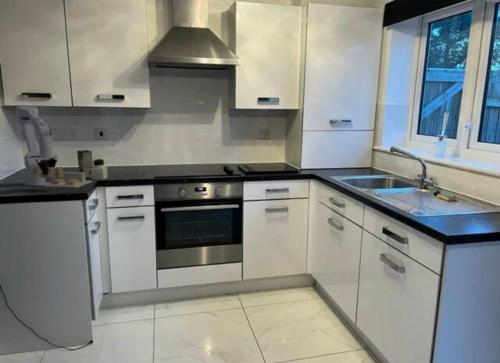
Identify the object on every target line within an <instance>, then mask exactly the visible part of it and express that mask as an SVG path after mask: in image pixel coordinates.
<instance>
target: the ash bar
mask: <svg viewBox="0 0 500 363" xmlns="http://www.w3.org/2000/svg"><path fill="white" fill-rule="evenodd" d="M33 172H34V178H45V179H60V178H61V177H64V175H63V172H64V168H63V167H61V166H60V167H58V166H57V167H56V166H55V167H48V175H43V173H42V170H41V168H40V167H36V168H33Z"/></svg>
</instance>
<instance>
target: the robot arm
mask: <svg viewBox="0 0 500 363" xmlns="http://www.w3.org/2000/svg"><path fill="white" fill-rule="evenodd" d="M15 116H16V118H17V119H16V120H17V122H18V123H20V124H21V126H22V129H23V132H24V137H25V141H26V147H27V151H28V152H27V153H26V154H25V155H24V166H25V169H26V170H25V172H24V178H25V184H24V186H34V187H35V186H37V187H39V186H43V185H45V184H48V183H50V182H49V181H46V178H34V172H33V168H36V167H40V168H41V170H42V173H43V175H48V167H56V164H57V162H58V158H59V157H58V156H59V155H58V154H53V148H52V147H53V146H52V138H51V137H52V134H53V133H52V132H53V131H52V127H51V125H50V124H46V122H45V121H44V120H43V118H42V117H39V109H38V107H37V106H36V105H34V106H33V105H28V106H27V105H26V106H25V105H24V106H23V105H21V106H20V105H17V106H16V107H15ZM37 140H38V144H37ZM38 147H39V148H38Z"/></svg>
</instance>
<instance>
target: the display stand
mask: <svg viewBox="0 0 500 363" xmlns="http://www.w3.org/2000/svg"><path fill="white" fill-rule="evenodd" d="M63 175H64V177H61V178H54V179H52V180H51V181H50V182H49V183H47V184H44V185H42V187H43V188H61V189H62V188H63V189H65V188H67V189H68V188H69V189H77V188H79V187H82V186H85V185H89V184H91V183H92V180H86V177H85V172H79V171H77V172H76V171H63Z"/></svg>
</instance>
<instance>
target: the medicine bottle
mask: <svg viewBox="0 0 500 363" xmlns="http://www.w3.org/2000/svg"><path fill="white" fill-rule="evenodd" d="M92 160H93V159H92ZM91 175H92V176H91V181H104V180H106V179H108V177H109V176H108V167H107V165H106V166H105V162H104V159H102V158H99V159H98V158H96V159H94V160H93V168H91Z"/></svg>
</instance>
